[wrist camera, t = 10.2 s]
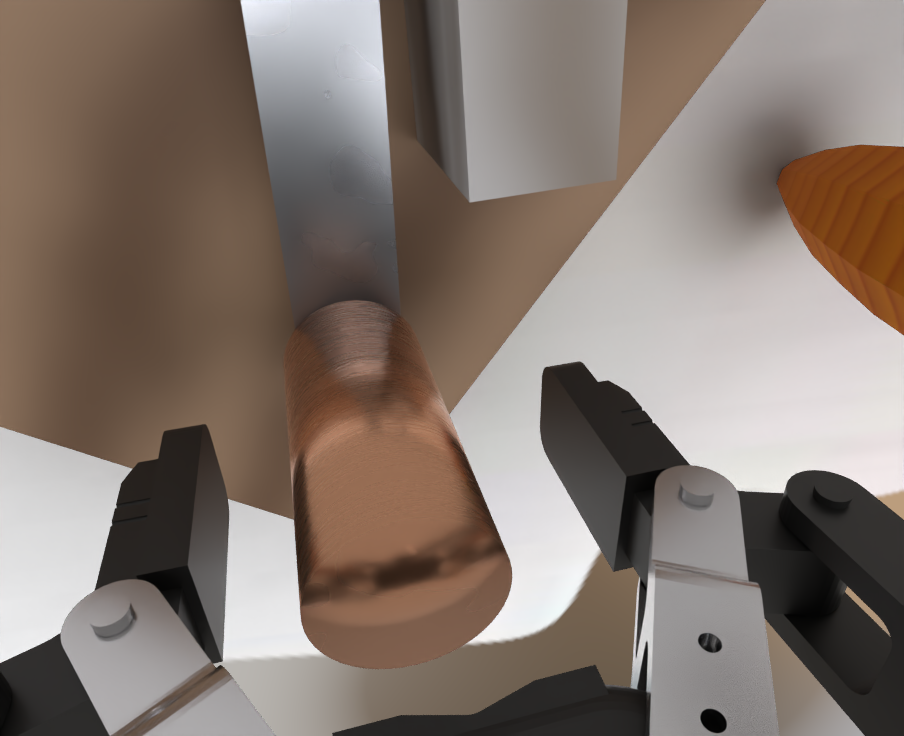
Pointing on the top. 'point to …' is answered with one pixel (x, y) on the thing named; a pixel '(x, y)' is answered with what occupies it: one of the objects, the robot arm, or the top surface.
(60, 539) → the top surface
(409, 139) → the press board
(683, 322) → the top surface
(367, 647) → the lever
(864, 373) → the top surface
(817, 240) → the carrot
